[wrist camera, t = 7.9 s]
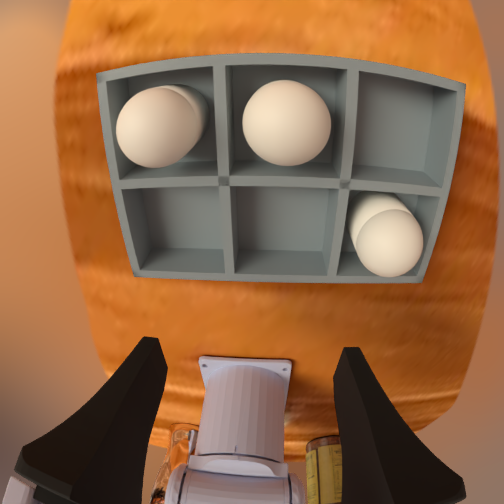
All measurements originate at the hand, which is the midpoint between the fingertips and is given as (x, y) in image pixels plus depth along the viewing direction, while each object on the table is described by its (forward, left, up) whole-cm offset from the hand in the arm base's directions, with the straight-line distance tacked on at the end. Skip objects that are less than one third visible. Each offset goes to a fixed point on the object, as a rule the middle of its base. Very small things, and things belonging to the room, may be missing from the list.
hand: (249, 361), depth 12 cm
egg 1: (+8, +4, -8) cm, 12 cm away
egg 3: (+2, -7, -8) cm, 11 cm away
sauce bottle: (-32, -10, -9) cm, 35 cm away
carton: (+5, -1, -9) cm, 10 cm away
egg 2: (+8, -1, -8) cm, 11 cm away
